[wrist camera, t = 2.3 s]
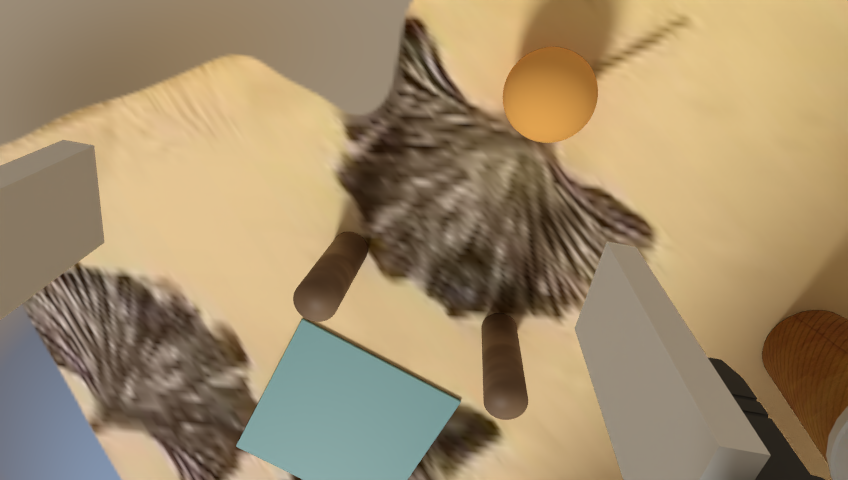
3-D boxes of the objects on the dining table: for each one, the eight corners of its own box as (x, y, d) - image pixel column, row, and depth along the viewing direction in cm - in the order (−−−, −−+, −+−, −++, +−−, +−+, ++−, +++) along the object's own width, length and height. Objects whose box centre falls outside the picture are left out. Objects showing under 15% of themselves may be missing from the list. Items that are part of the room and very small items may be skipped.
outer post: (373, 242, 39) (345, 293, 30) (358, 271, 40) (326, 329, 31) (341, 225, 39) (304, 272, 30) (326, 254, 39) (286, 308, 31)
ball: (604, 75, 34) (628, 78, 29) (556, 151, 36) (570, 166, 30) (529, 31, 33) (540, 25, 28) (485, 110, 35) (486, 118, 30)
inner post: (523, 323, 40) (536, 395, 31) (504, 349, 41) (513, 426, 32) (493, 307, 40) (498, 374, 31) (475, 334, 40) (475, 407, 32)
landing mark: (460, 400, 42) (460, 402, 42) (381, 516, 47) (380, 518, 47) (302, 318, 41) (302, 319, 41) (236, 444, 46) (236, 446, 46)
